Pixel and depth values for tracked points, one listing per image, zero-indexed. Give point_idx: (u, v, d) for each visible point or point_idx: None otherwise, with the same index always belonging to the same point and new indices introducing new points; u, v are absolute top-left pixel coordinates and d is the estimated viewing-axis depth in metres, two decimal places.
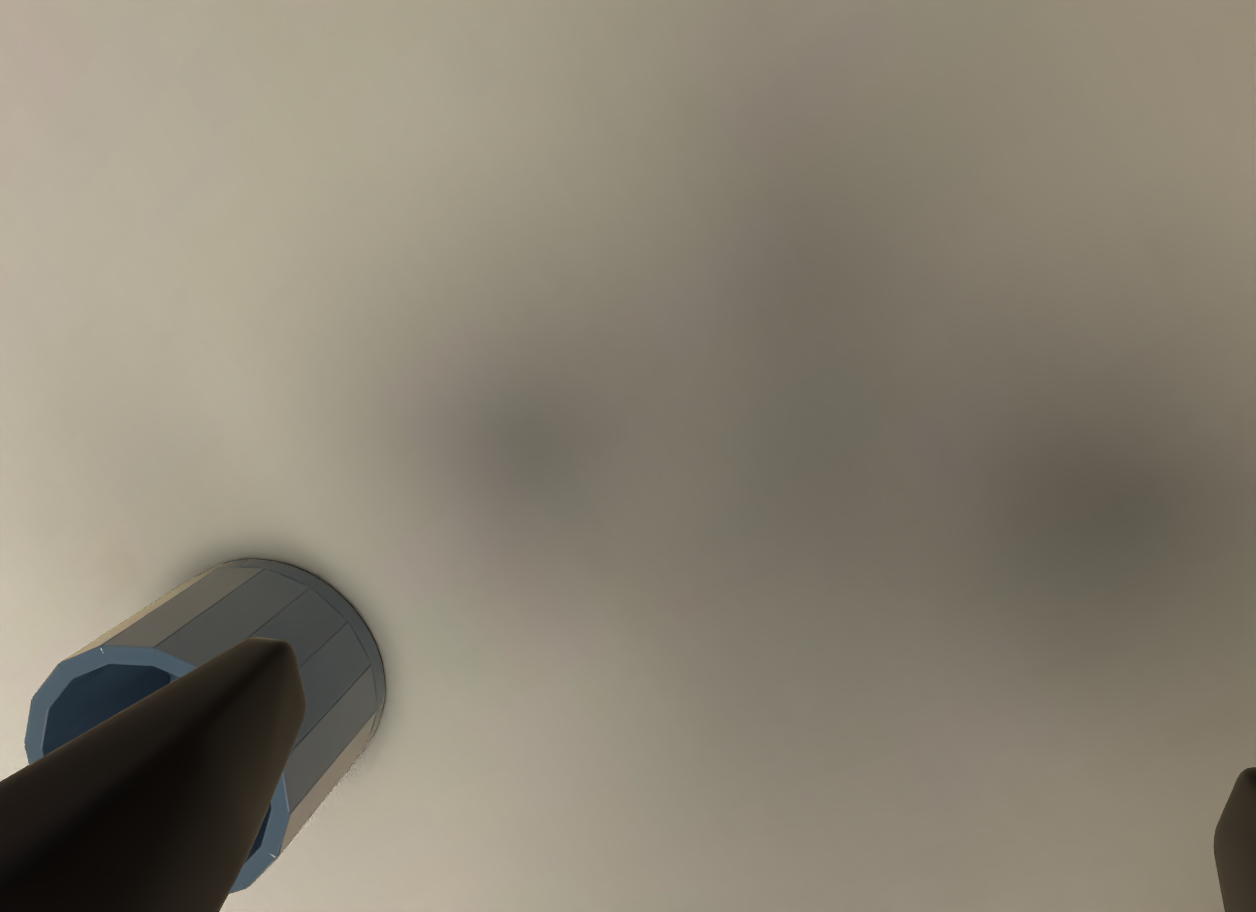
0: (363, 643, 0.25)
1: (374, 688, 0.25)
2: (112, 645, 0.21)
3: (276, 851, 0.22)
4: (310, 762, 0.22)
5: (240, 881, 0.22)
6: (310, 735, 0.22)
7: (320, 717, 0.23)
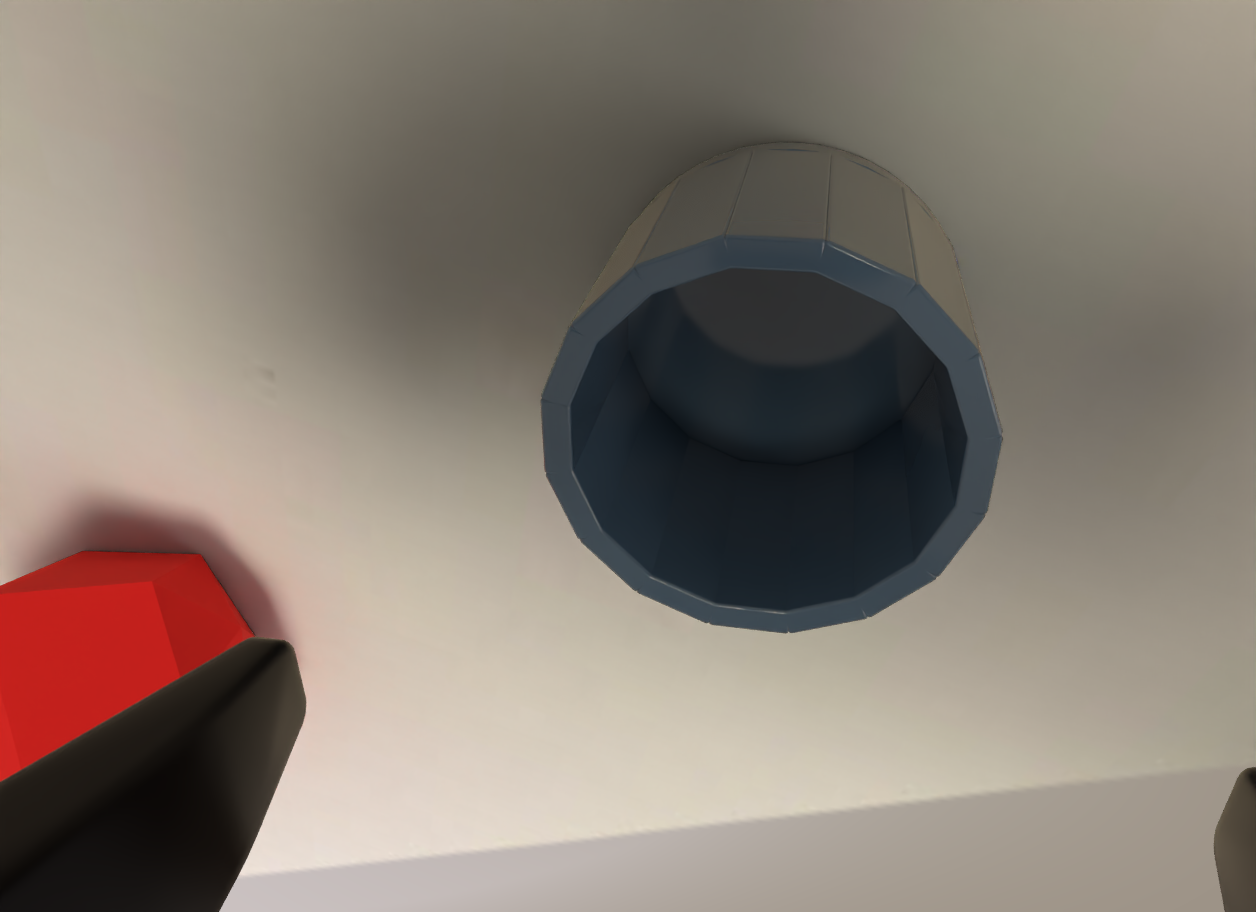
0: (870, 168, 0.16)
1: (929, 216, 0.16)
2: (583, 313, 0.13)
3: (995, 427, 0.13)
4: (945, 292, 0.13)
5: (971, 511, 0.14)
6: (917, 257, 0.13)
7: (907, 240, 0.14)
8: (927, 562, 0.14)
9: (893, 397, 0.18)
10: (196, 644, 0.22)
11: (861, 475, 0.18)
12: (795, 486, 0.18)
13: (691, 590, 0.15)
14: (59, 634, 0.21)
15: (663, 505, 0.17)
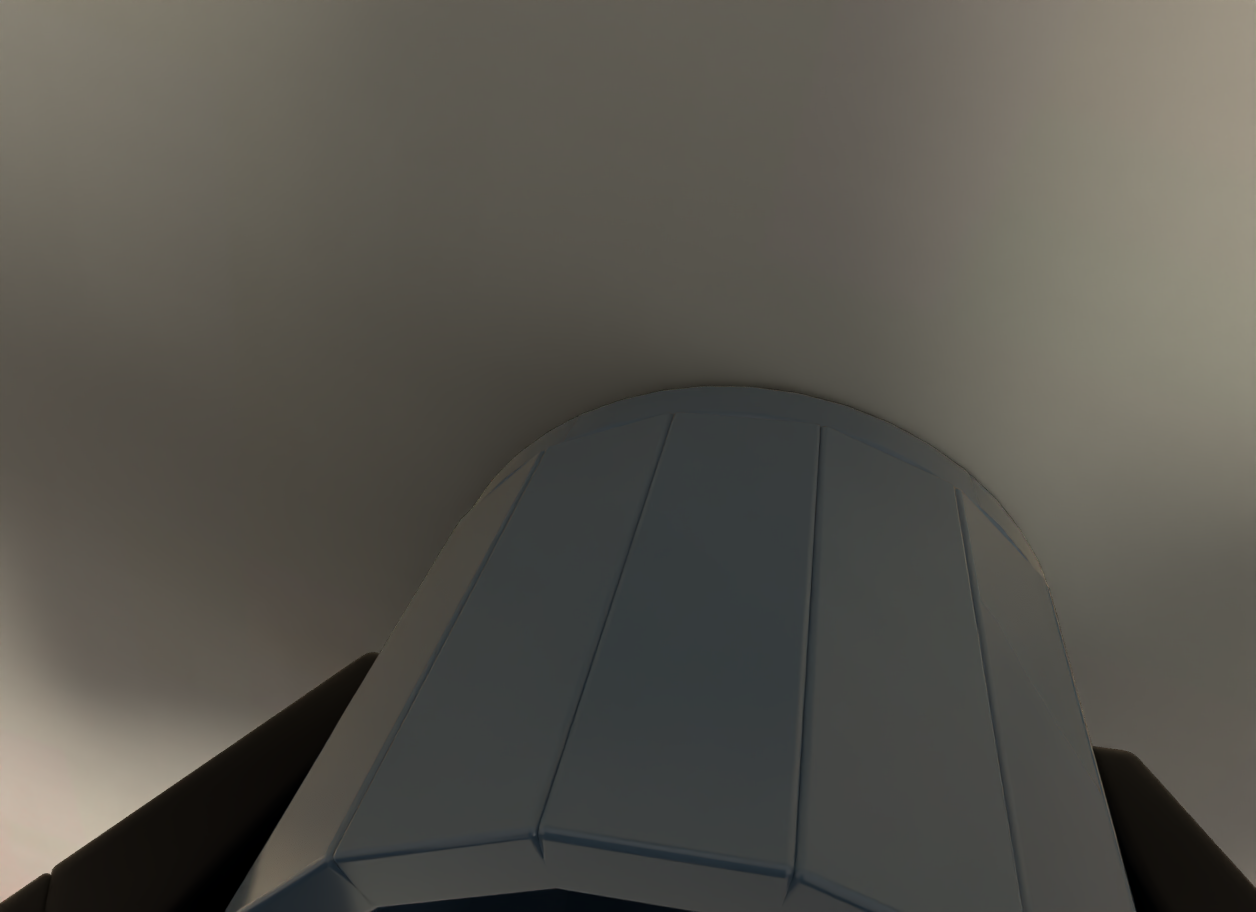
0: (897, 451, 0.08)
1: (1007, 538, 0.08)
2: None
3: None
4: (1080, 869, 0.06)
5: None
6: (1015, 787, 0.06)
7: (987, 709, 0.06)
8: None
9: None
10: None
11: None
12: None
13: None
14: None
15: None
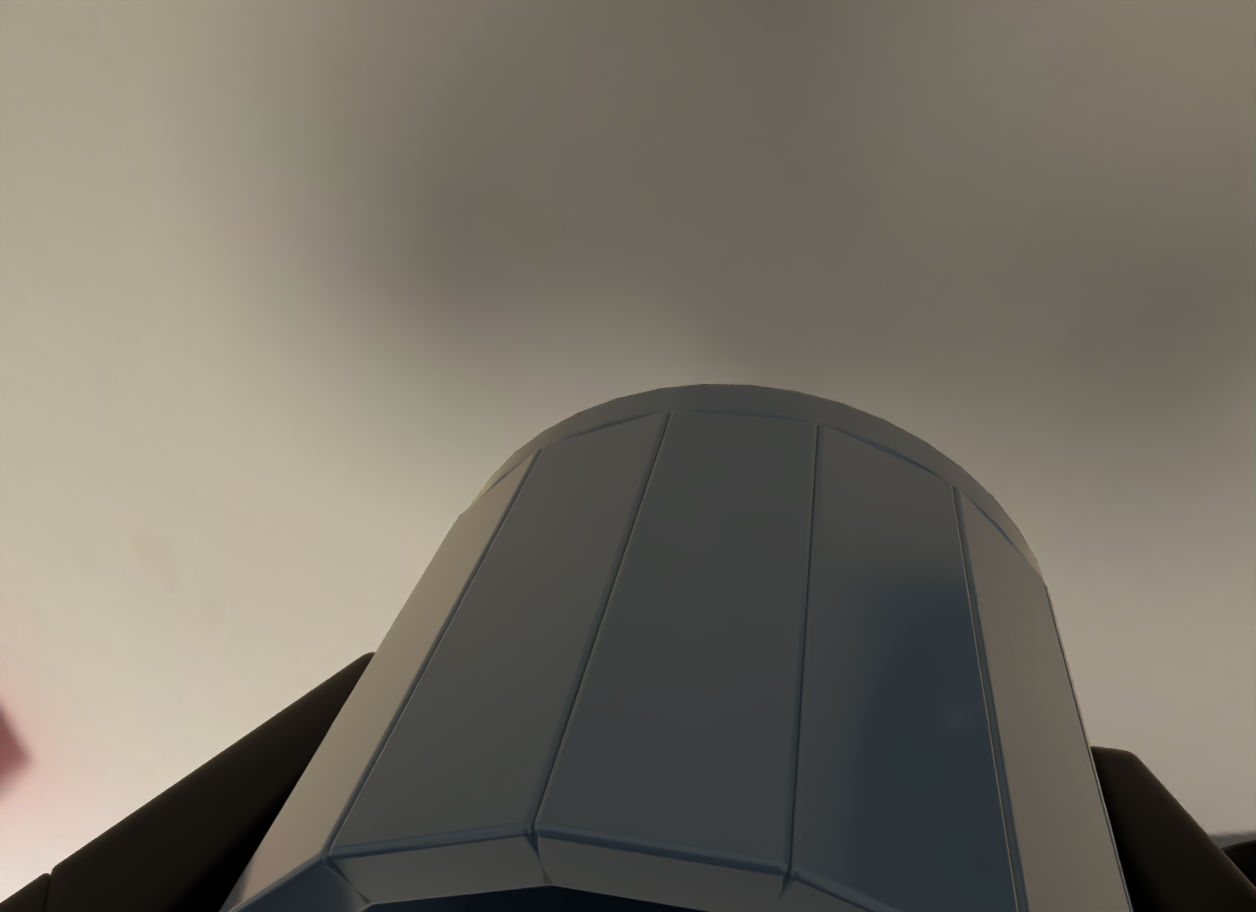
0: (893, 448, 0.08)
1: (1004, 537, 0.08)
2: None
3: None
4: (1077, 867, 0.06)
5: None
6: (1011, 785, 0.06)
7: (983, 706, 0.06)
8: None
9: None
10: None
11: None
12: None
13: None
14: None
15: None
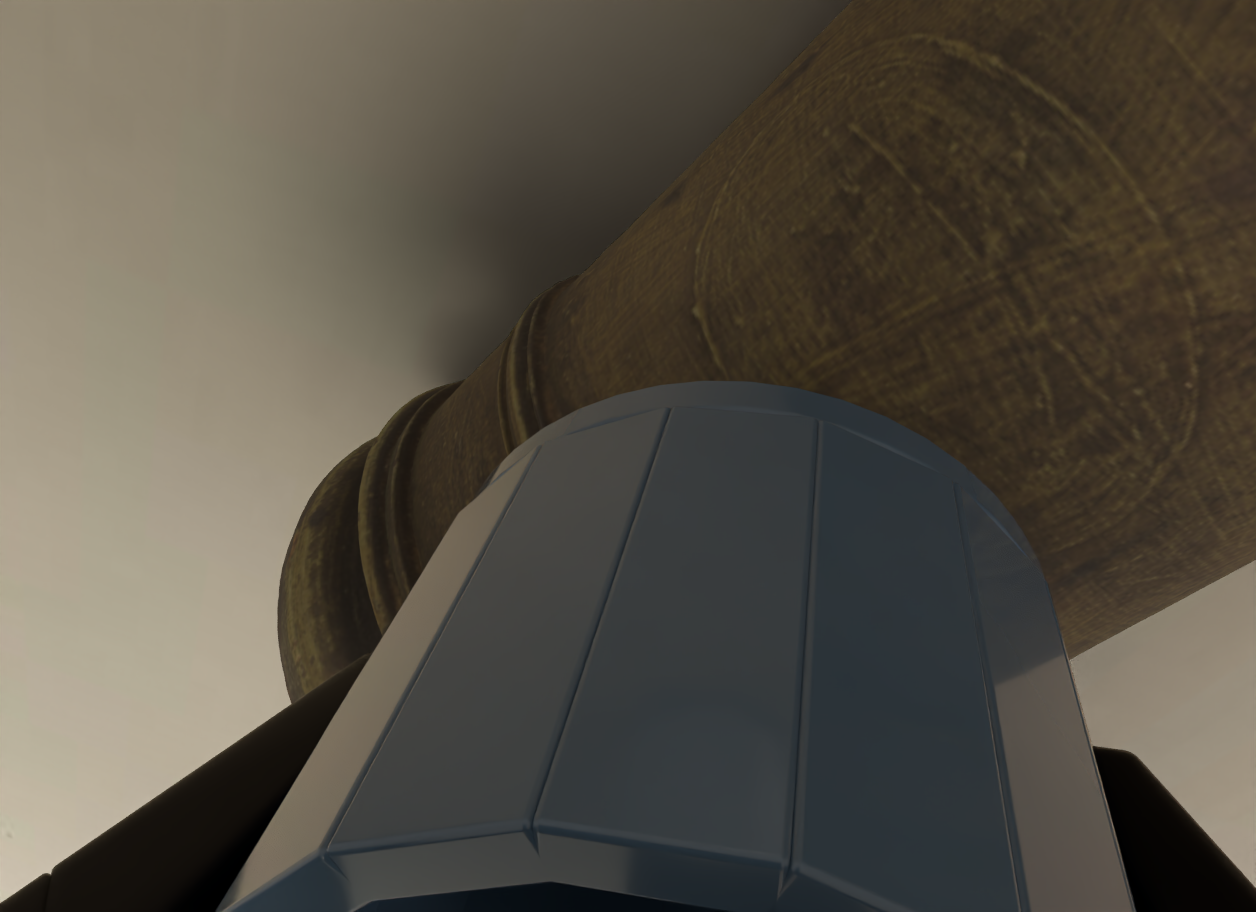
0: (894, 445, 0.08)
1: (1005, 534, 0.08)
2: (229, 910, 0.06)
3: None
4: (1078, 863, 0.06)
5: None
6: (1012, 781, 0.06)
7: (984, 703, 0.06)
8: None
9: None
10: None
11: None
12: None
13: None
14: None
15: None
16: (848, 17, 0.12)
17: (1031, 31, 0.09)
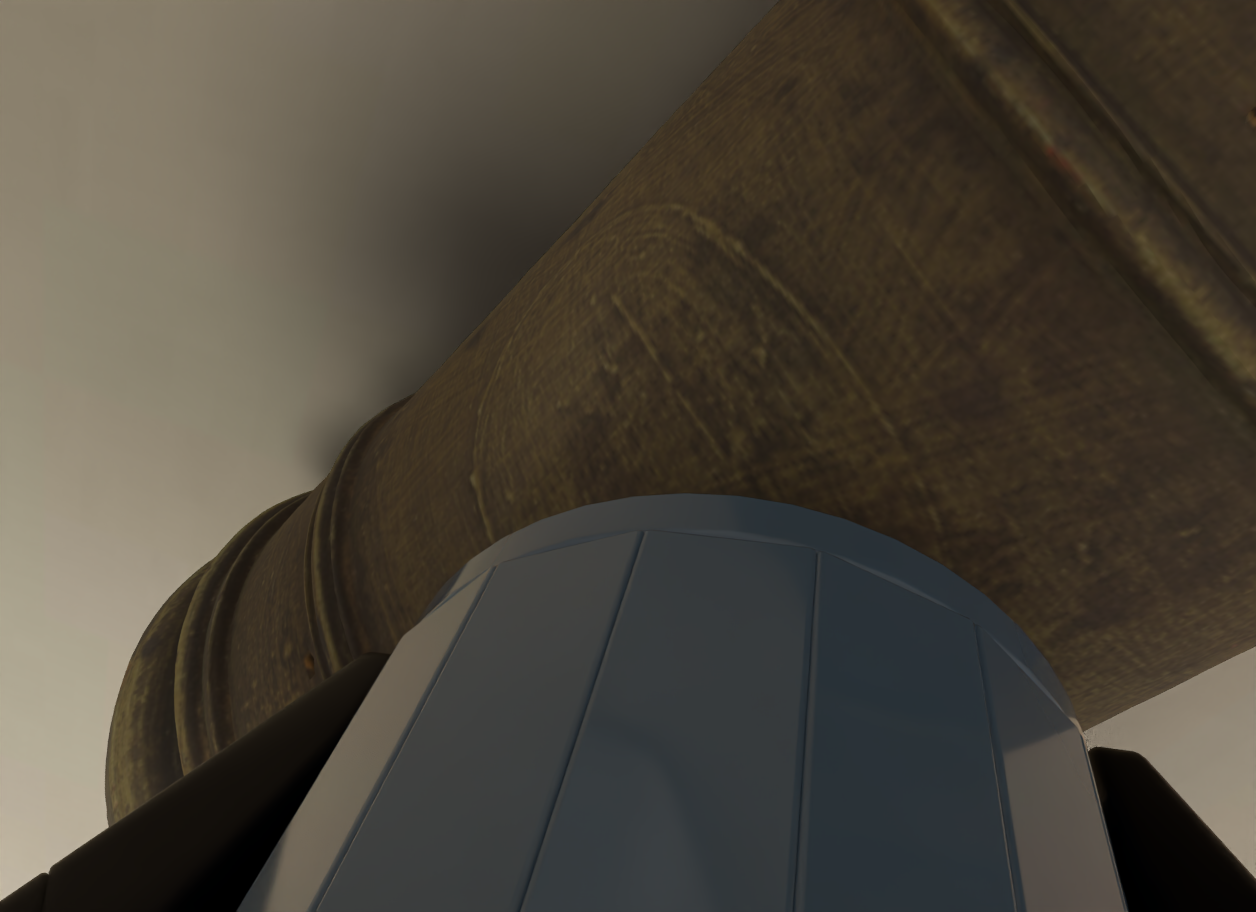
0: (906, 578, 0.07)
1: (1035, 683, 0.07)
2: None
3: None
4: None
5: None
6: None
7: None
8: None
9: None
10: None
11: None
12: None
13: None
14: None
15: None
16: (633, 165, 0.11)
17: (771, 219, 0.09)
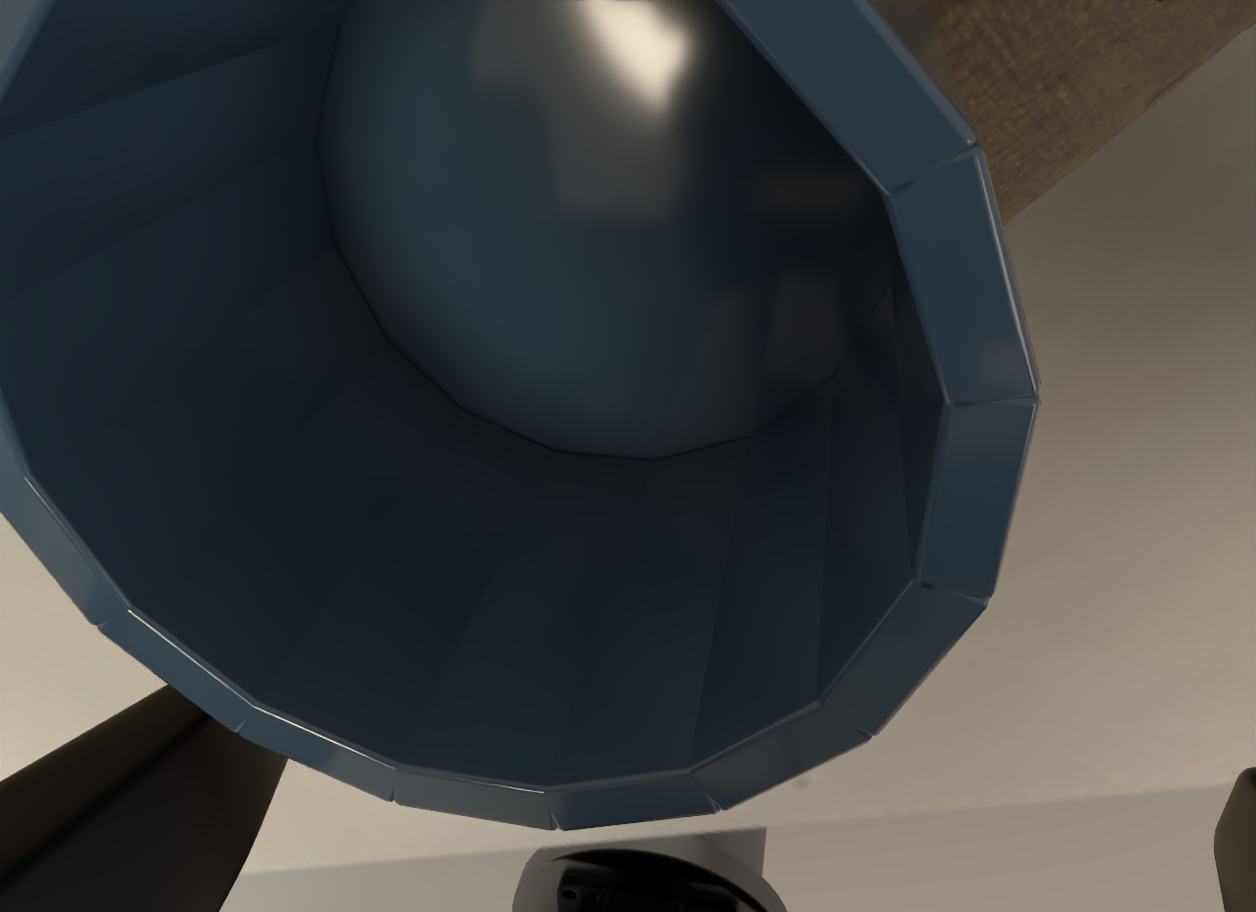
0: None
1: None
2: None
3: (1022, 371, 0.05)
4: None
5: (953, 591, 0.05)
6: None
7: None
8: (849, 701, 0.06)
9: (818, 335, 0.09)
10: None
11: (752, 483, 0.09)
12: (638, 500, 0.10)
13: (350, 734, 0.07)
14: None
15: (348, 541, 0.08)
16: None
17: None
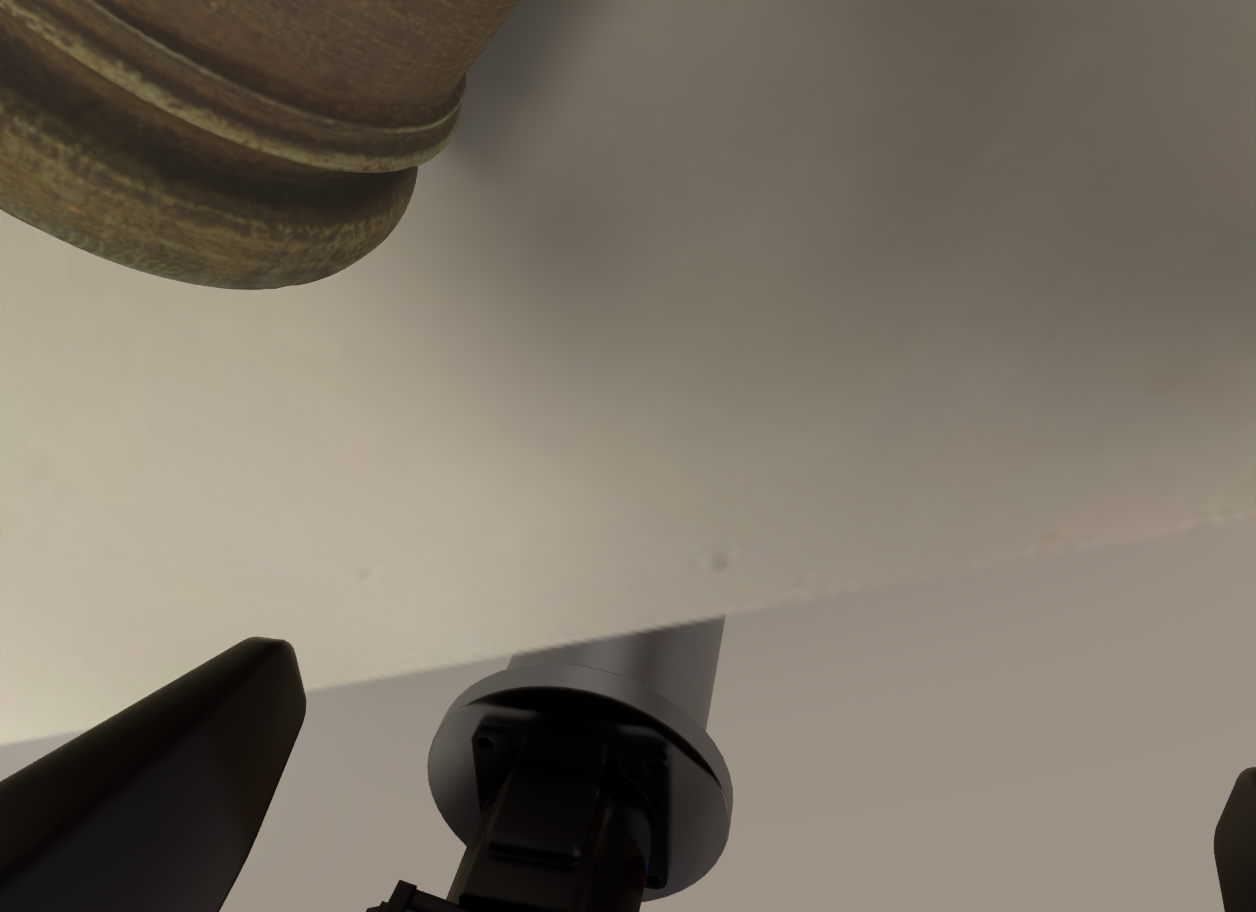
0: None
1: None
2: None
3: None
4: None
5: None
6: None
7: None
8: None
9: None
10: None
11: None
12: None
13: None
14: None
15: None
16: None
17: None
